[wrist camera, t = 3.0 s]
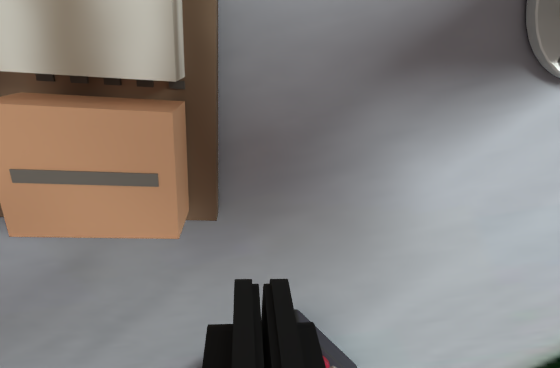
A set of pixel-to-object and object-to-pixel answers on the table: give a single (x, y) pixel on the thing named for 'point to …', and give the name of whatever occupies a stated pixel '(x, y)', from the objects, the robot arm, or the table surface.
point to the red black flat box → (328, 348)
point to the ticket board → (192, 98)
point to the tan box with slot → (93, 166)
